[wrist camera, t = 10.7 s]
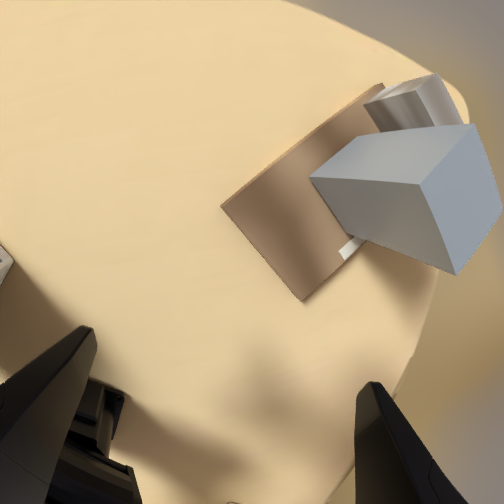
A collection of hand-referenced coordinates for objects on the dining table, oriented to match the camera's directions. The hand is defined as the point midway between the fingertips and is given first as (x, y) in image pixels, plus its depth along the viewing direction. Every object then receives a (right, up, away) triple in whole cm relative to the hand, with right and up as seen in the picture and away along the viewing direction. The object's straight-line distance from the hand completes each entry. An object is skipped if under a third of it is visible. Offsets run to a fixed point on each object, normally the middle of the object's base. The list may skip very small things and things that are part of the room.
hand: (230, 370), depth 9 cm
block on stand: (+7, +9, +13) cm, 18 cm away
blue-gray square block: (+9, +8, +12) cm, 17 cm away
